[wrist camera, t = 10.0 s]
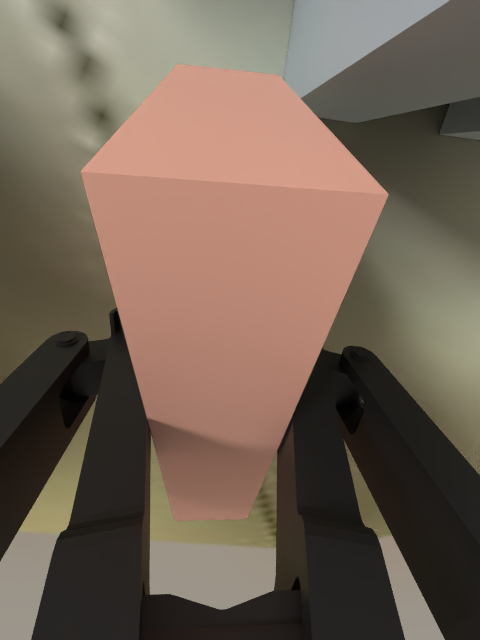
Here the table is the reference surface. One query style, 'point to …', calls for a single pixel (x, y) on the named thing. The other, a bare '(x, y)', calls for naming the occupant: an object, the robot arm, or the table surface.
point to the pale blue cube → (387, 59)
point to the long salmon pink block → (226, 268)
